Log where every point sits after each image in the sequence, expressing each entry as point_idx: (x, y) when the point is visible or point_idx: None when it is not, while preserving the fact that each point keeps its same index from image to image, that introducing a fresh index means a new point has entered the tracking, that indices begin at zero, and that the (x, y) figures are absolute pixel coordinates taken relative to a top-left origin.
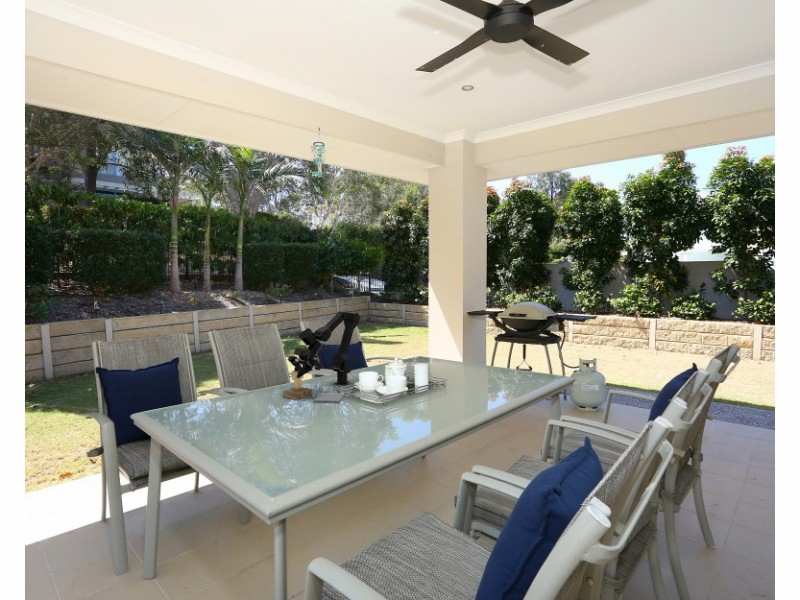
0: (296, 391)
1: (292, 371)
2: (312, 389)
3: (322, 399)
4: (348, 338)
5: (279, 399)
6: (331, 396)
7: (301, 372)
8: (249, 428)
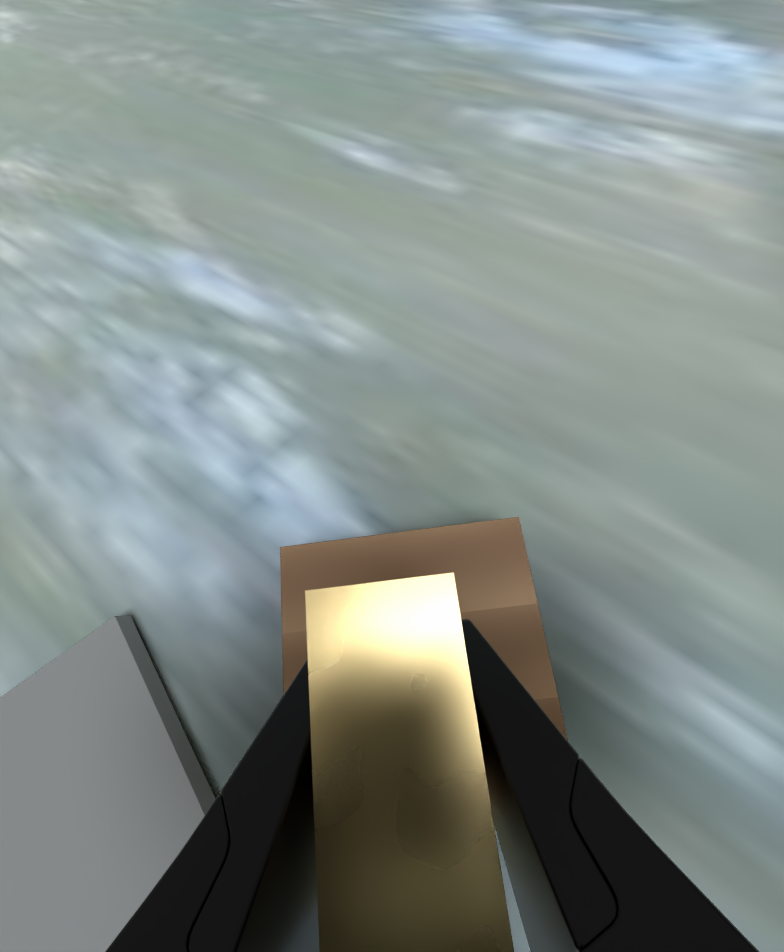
0: None
1: (439, 581)
2: None
3: (52, 701)
4: None
5: (464, 469)
6: (26, 876)
7: (248, 772)
8: (131, 117)
